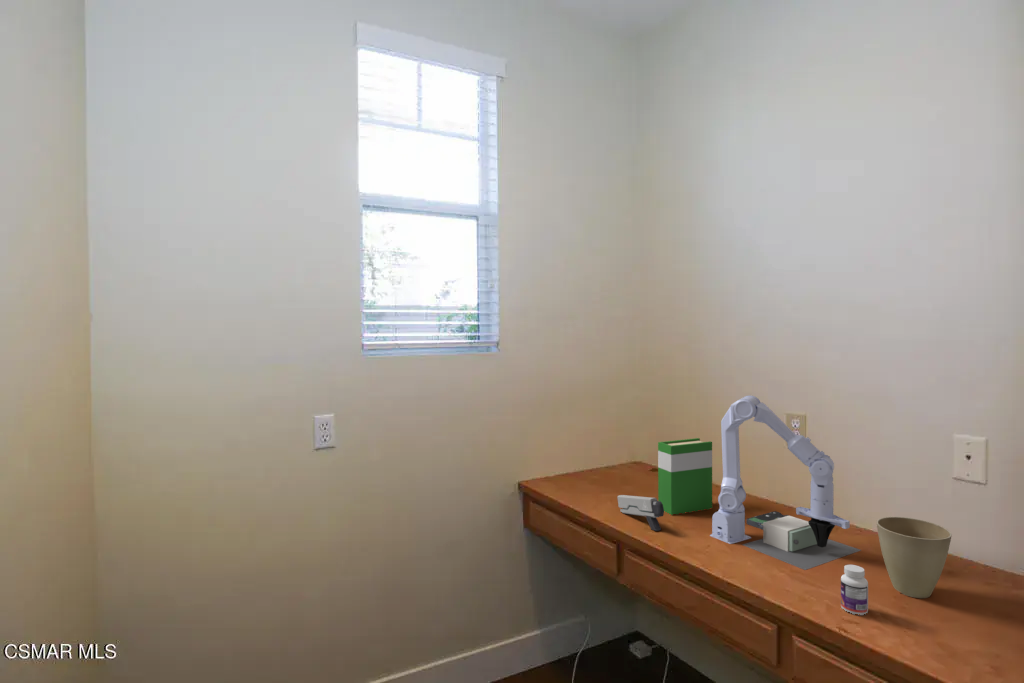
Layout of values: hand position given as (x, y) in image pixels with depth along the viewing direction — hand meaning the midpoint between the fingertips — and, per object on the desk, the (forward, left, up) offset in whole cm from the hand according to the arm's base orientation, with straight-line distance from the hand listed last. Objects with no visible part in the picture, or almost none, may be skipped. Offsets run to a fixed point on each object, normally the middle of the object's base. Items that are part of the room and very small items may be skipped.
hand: (821, 546), depth 160 cm
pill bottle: (-23, -22, -3) cm, 32 cm away
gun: (-26, +47, -3) cm, 54 cm away
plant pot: (-2, -24, -3) cm, 25 cm away
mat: (-1, +6, -3) cm, 6 cm away
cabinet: (-1, +10, -2) cm, 10 cm away
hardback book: (-3, +49, -3) cm, 49 cm away
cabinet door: (-1, +5, -2) cm, 5 cm away
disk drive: (+9, +22, -3) cm, 24 cm away
